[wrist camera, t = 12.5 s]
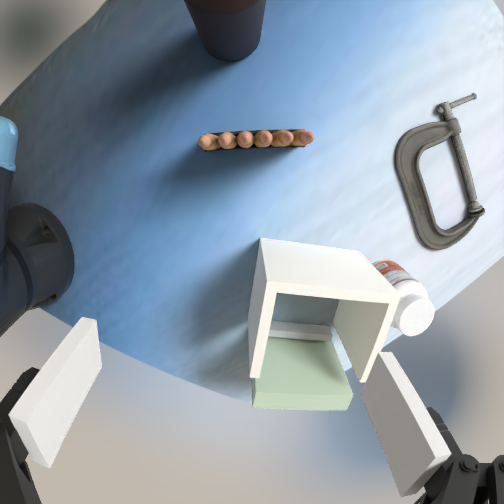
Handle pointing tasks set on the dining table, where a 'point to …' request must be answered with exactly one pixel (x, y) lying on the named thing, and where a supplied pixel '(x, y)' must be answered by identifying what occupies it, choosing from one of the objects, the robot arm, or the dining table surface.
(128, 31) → the dining table surface
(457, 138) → the c clamp
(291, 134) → the ammunition clip
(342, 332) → the cabinet
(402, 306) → the pill bottle
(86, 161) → the dining table surface
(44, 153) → the dining table surface
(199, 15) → the vinegar
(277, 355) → the door
